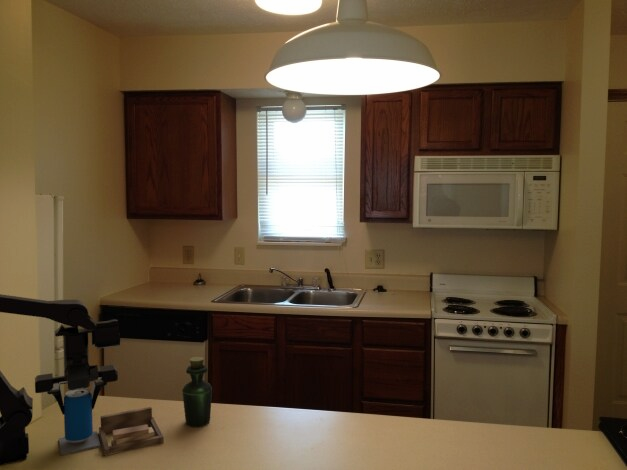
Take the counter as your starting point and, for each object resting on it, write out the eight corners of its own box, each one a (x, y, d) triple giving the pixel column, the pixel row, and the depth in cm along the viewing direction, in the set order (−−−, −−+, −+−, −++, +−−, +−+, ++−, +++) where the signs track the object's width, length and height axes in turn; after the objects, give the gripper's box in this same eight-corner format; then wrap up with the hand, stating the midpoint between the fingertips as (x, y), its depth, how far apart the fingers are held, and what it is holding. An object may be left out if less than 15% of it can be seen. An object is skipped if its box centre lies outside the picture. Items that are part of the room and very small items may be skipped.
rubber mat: (60, 455, 126) (60, 453, 126) (59, 440, 134) (59, 438, 134) (100, 446, 130) (100, 445, 130) (96, 432, 138) (96, 430, 138)
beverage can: (97, 432, 135) (96, 387, 134) (84, 444, 128) (82, 397, 127) (74, 431, 135) (72, 386, 134) (59, 443, 129) (57, 396, 128)
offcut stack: (113, 451, 128) (112, 436, 127) (111, 445, 131) (110, 430, 131) (155, 442, 132) (154, 427, 132) (152, 436, 136) (151, 422, 135)
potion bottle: (206, 429, 140) (205, 364, 138) (178, 427, 141) (176, 362, 140) (216, 417, 148) (215, 355, 146) (189, 415, 149) (188, 353, 148)
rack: (105, 455, 126) (104, 437, 125) (99, 432, 138) (98, 416, 137) (163, 442, 132) (163, 425, 132) (153, 422, 144) (152, 406, 144)
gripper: (33, 365, 119) (36, 431, 120) (120, 354, 127) (121, 415, 129) (34, 352, 128) (36, 414, 130) (114, 343, 137) (115, 400, 138)
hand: (78, 411), depth 131 cm, fingers closed on beverage can, 6 cm apart
